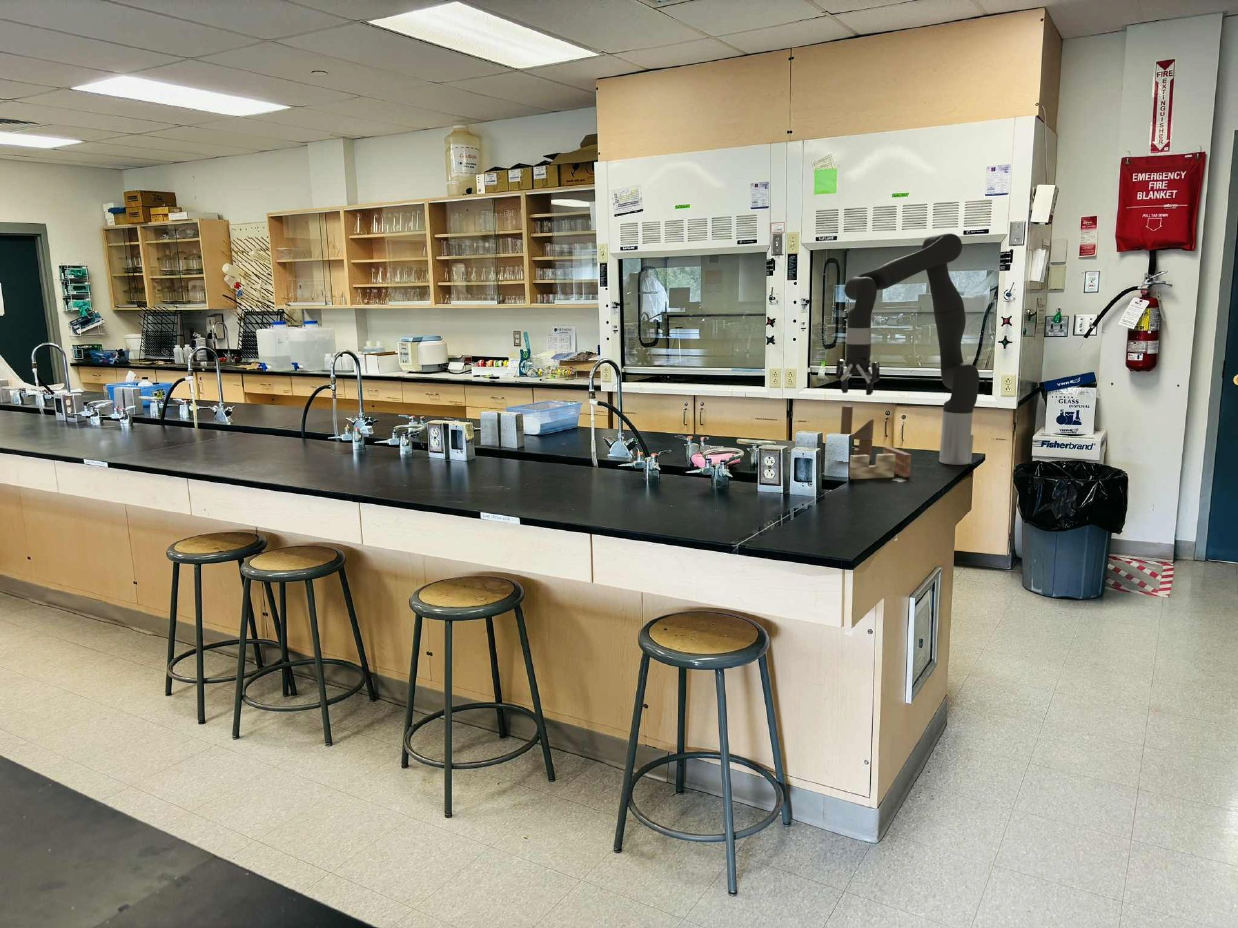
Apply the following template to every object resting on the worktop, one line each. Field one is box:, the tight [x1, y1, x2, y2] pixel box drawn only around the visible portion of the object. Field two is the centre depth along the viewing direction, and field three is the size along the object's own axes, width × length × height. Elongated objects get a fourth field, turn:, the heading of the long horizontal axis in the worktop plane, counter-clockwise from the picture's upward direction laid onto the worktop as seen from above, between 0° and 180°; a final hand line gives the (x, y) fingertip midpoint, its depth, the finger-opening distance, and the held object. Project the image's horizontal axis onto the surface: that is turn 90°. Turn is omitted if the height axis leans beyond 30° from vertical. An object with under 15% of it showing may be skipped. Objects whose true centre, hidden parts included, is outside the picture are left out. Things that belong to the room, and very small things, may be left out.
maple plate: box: [848, 453, 896, 480], centre depth 266 cm, size 14×2×7 cm, turn 102°
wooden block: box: [840, 404, 875, 462], centre depth 292 cm, size 4×11×18 cm, turn 56°
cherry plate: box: [882, 446, 912, 478], centre depth 273 cm, size 2×13×7 cm, turn 12°
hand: (856, 393), depth 273 cm, fingers open, 8 cm apart
